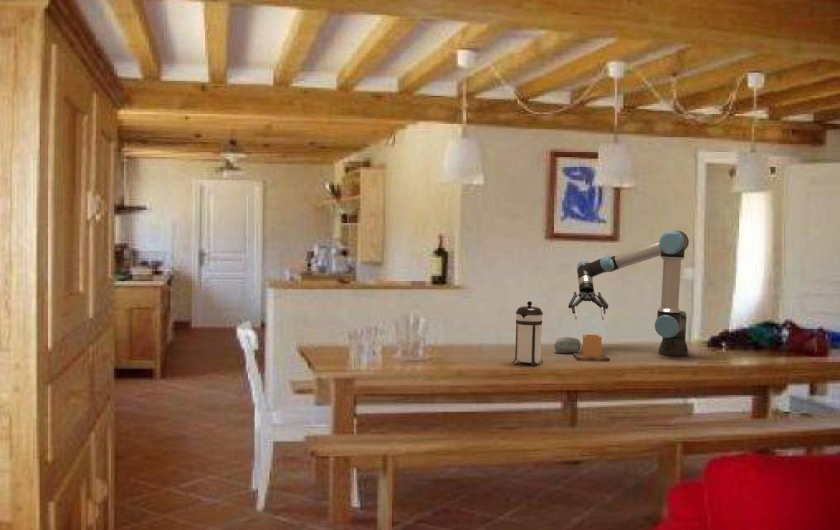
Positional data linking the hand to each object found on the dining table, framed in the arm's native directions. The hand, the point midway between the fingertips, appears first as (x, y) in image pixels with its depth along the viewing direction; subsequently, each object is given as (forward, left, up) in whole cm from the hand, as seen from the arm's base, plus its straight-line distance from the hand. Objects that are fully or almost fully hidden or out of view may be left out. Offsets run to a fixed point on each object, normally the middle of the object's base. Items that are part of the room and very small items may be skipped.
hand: (589, 318), depth 456 cm
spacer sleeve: (0, +9, -18) cm, 20 cm away
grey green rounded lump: (+10, -8, -20) cm, 23 cm away
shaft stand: (0, +9, -19) cm, 22 cm away
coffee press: (+33, +30, -20) cm, 49 cm away
